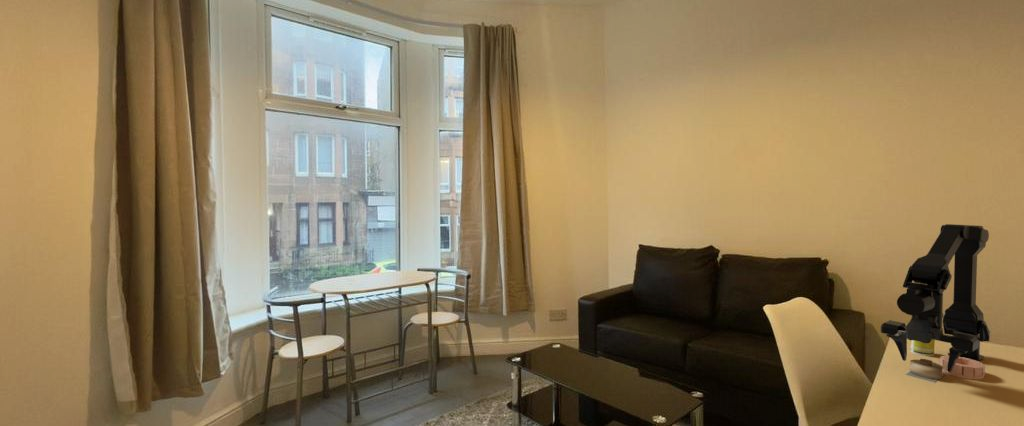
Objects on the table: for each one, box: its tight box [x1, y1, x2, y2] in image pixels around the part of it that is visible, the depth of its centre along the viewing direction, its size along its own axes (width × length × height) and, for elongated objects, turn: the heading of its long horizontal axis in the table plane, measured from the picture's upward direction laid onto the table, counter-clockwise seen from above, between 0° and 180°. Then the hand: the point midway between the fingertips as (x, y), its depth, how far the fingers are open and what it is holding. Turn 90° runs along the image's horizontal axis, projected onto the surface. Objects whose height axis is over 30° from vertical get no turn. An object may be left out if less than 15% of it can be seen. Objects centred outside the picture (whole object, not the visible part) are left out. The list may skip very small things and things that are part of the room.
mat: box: [905, 371, 947, 383], centre depth 120 cm, size 9×6×1 cm, turn 122°
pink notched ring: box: [939, 355, 986, 380], centre depth 121 cm, size 8×8×4 cm
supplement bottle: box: [909, 339, 936, 357], centre depth 135 cm, size 5×5×10 cm
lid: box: [909, 358, 943, 380], centre depth 120 cm, size 6×6×4 cm
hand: (926, 365), depth 120 cm, fingers open, 9 cm apart
